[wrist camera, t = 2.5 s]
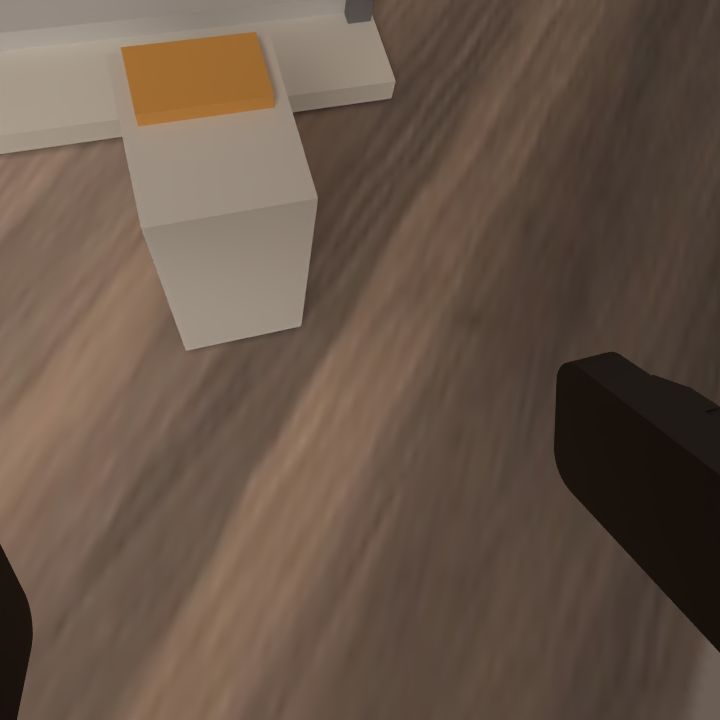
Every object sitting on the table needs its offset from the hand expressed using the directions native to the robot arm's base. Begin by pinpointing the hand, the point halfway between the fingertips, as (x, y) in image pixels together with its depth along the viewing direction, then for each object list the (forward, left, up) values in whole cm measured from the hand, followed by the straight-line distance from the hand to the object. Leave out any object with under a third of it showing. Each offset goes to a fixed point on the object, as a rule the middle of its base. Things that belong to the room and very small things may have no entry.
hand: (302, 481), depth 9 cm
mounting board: (0, +26, -17) cm, 31 cm away
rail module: (0, +12, -17) cm, 21 cm away
